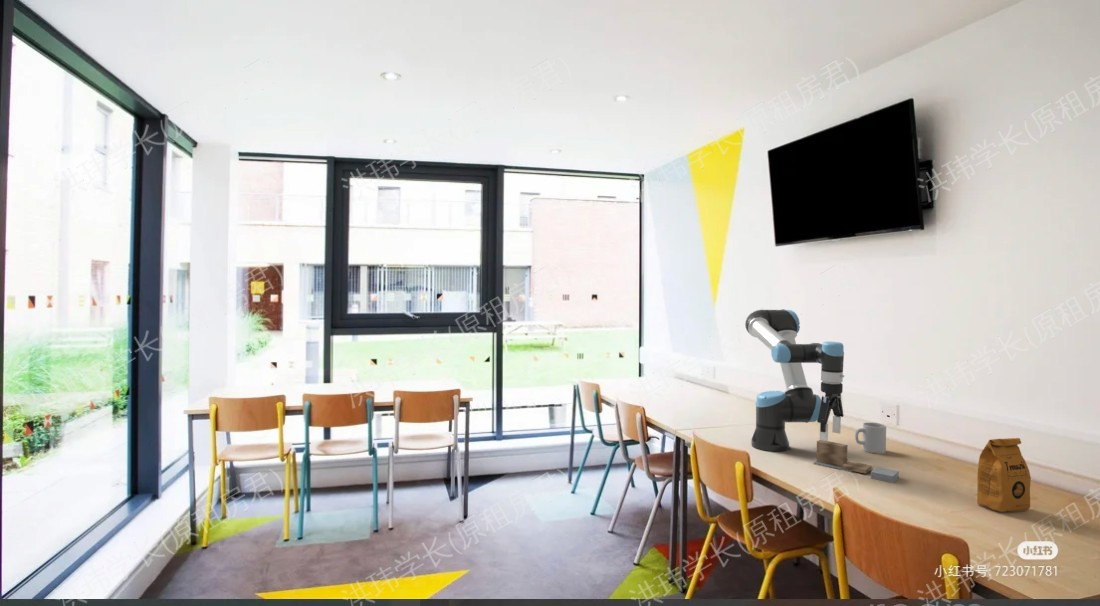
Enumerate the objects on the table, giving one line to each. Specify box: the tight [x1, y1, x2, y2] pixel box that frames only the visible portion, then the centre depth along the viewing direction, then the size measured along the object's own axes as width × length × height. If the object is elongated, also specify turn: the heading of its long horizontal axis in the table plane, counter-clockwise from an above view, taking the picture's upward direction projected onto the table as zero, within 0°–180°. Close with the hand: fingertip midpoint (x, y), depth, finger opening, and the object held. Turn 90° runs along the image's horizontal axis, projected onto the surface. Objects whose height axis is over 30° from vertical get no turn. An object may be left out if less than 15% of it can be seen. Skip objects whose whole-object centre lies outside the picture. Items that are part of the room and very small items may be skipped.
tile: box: [870, 466, 900, 484], centre depth 203 cm, size 7×3×8 cm
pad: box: [813, 460, 854, 473], centre depth 217 cm, size 14×8×1 cm, turn 45°
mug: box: [854, 422, 887, 455], centre depth 236 cm, size 12×8×11 cm
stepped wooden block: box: [816, 439, 873, 474], centre depth 215 cm, size 18×7×8 cm, turn 45°
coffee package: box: [976, 437, 1032, 513], centre depth 175 cm, size 10×12×22 cm
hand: (830, 436), depth 219 cm, fingers open, 13 cm apart
